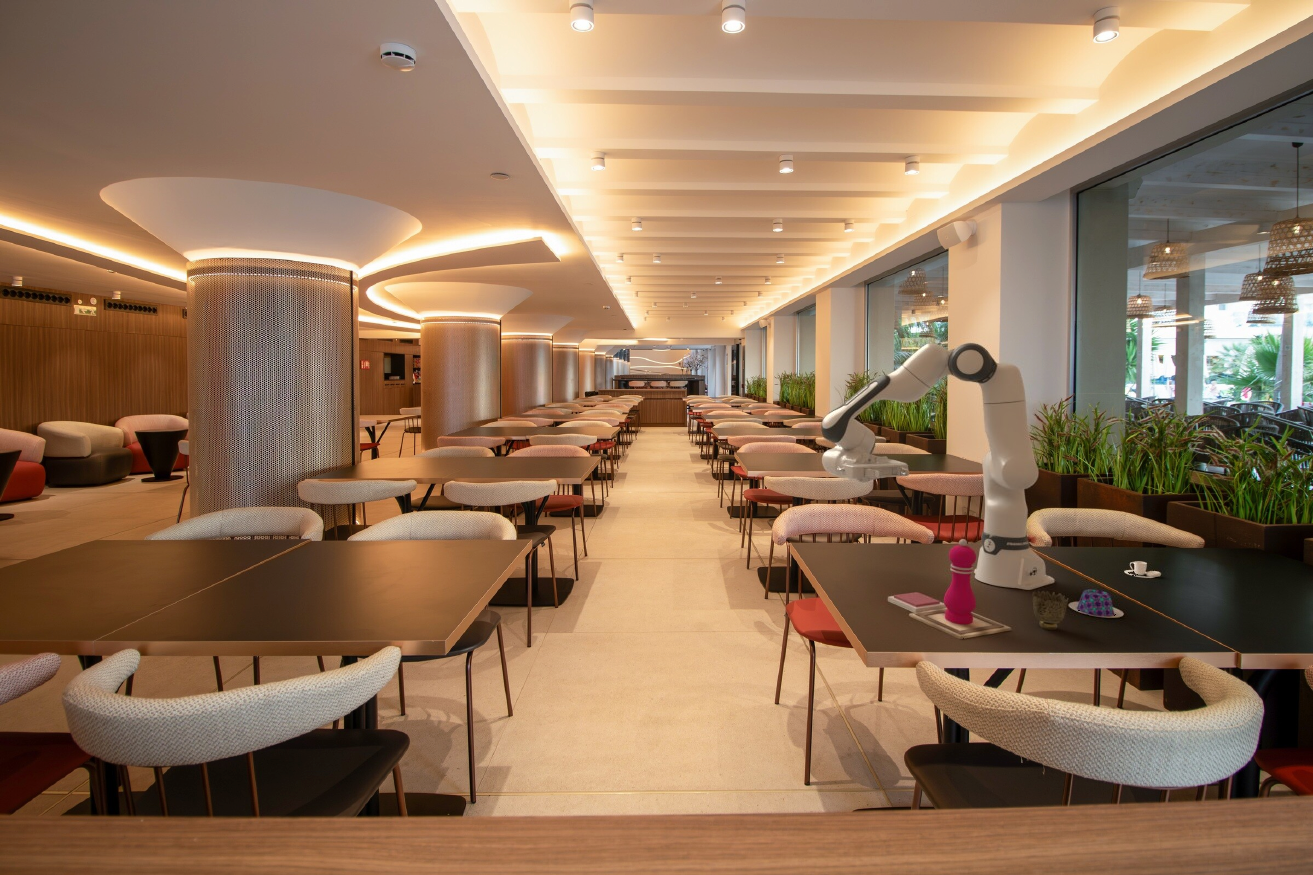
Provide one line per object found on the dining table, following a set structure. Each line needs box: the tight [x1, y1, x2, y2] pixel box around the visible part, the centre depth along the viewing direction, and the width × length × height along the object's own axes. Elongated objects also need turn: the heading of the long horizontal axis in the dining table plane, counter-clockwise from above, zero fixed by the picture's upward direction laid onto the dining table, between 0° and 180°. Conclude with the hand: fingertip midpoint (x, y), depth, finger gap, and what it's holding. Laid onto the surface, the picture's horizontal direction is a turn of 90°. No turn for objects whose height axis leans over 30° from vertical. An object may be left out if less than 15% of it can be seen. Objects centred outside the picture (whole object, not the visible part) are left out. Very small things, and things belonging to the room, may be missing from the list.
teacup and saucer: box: [1124, 560, 1162, 579], centre depth 212 cm, size 9×8×4 cm
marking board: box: [908, 607, 1012, 640], centre depth 167 cm, size 16×16×1 cm
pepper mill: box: [943, 538, 977, 624], centre depth 166 cm, size 7×7×20 cm
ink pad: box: [887, 591, 947, 613], centre depth 179 cm, size 10×10×2 cm
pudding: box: [1068, 588, 1124, 619], centre depth 177 cm, size 12×12×5 cm
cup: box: [1031, 590, 1069, 631], centre depth 164 cm, size 8×7×8 cm
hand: (894, 473), depth 195 cm, fingers open, 8 cm apart
